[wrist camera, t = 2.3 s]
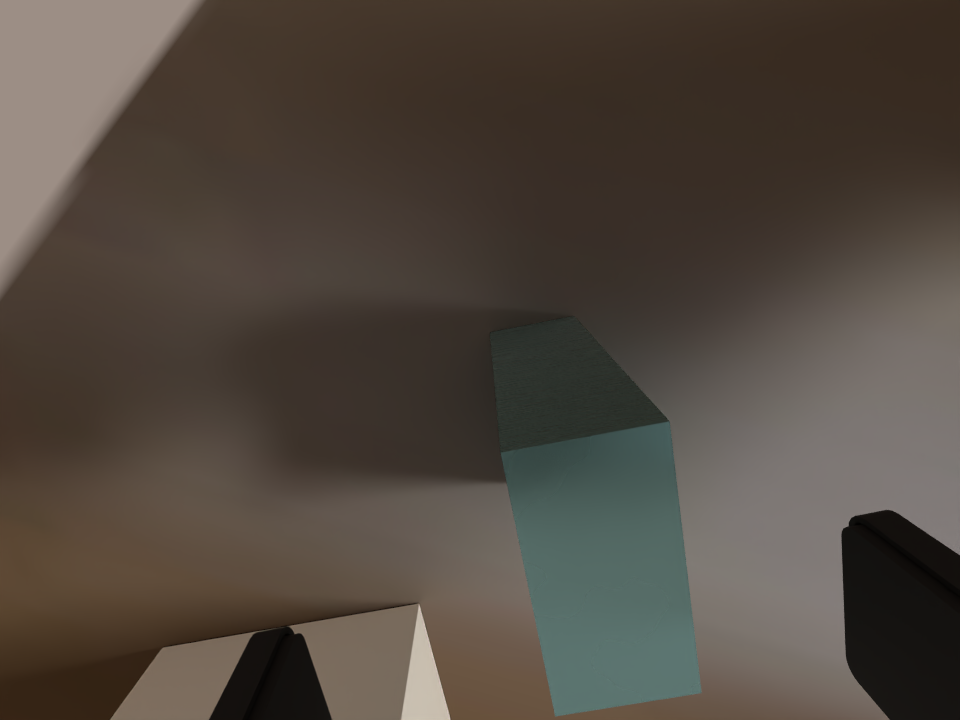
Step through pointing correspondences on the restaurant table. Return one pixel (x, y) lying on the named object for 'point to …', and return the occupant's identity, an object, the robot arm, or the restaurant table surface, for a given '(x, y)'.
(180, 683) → the white slotted box
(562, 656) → the teal block
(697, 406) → the restaurant table surface
